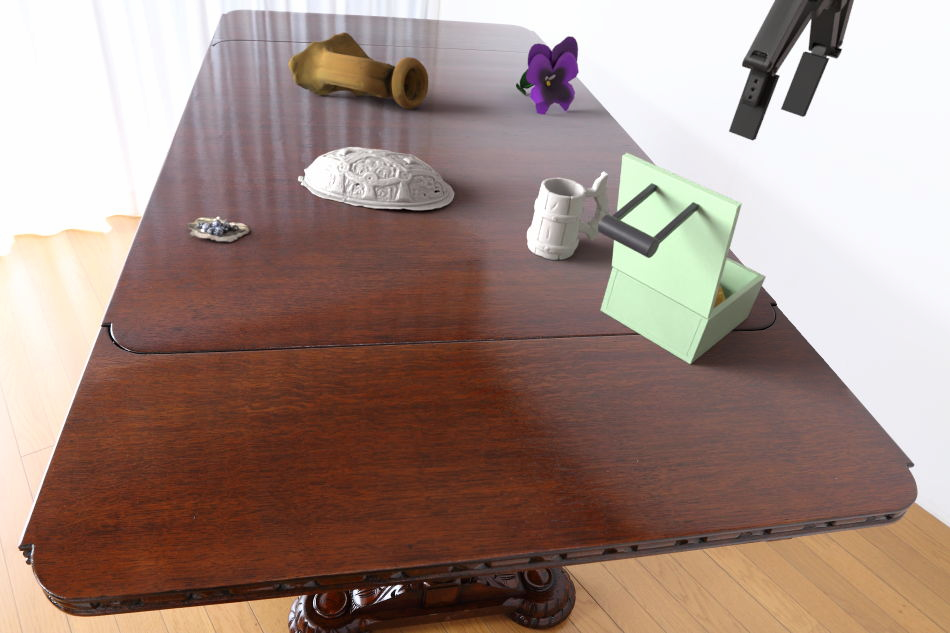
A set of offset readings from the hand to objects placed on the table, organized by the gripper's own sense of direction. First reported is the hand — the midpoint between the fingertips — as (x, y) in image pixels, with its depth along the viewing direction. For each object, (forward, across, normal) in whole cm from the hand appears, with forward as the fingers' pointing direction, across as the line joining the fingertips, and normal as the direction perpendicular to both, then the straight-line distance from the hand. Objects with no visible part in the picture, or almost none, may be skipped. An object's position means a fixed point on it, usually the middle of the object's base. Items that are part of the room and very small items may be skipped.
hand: (768, 123), depth 75 cm
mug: (+27, 0, -22) cm, 35 cm away
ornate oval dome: (+27, +11, -52) cm, 60 cm away
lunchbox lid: (+12, +11, -2) cm, 16 cm away
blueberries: (+27, +38, -53) cm, 71 cm away
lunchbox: (+27, +2, -2) cm, 27 cm away
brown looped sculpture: (+26, -11, -85) cm, 90 cm away
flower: (+26, -45, -64) cm, 83 cm away
